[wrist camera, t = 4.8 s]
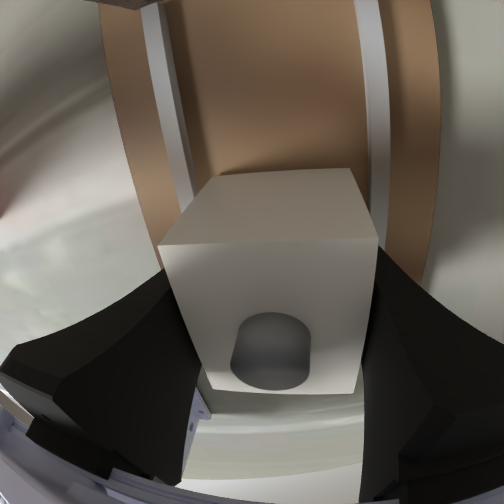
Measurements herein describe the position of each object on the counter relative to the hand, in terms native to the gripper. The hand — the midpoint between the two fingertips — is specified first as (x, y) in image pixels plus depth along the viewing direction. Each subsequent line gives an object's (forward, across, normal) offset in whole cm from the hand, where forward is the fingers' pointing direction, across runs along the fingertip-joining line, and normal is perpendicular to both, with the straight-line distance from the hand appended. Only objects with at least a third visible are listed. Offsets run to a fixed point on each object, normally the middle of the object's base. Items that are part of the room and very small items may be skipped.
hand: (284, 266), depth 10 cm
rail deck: (+2, 0, -5) cm, 5 cm away
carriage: (+1, 0, 0) cm, 1 cm away
